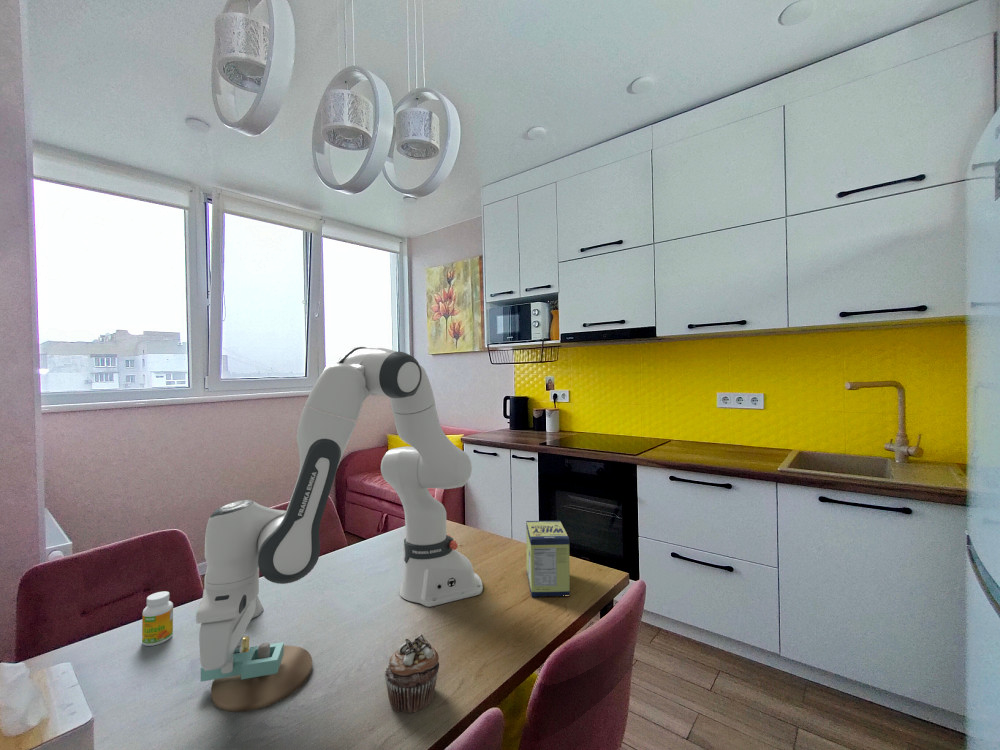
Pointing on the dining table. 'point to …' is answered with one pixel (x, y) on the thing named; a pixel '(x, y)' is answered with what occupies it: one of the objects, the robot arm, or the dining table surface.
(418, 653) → the cupcake
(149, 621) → the supplement bottle
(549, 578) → the protein box
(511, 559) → the dining table surface
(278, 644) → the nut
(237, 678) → the disc base
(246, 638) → the dowel
